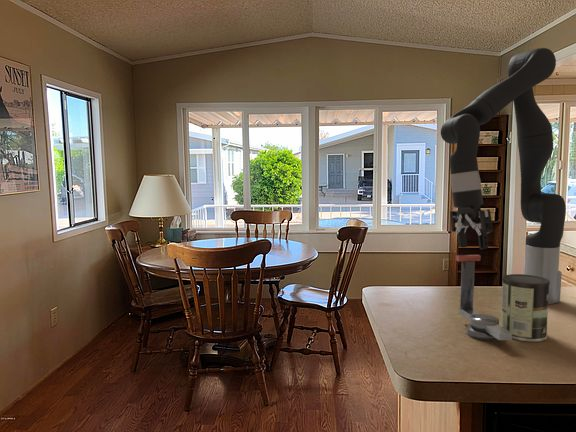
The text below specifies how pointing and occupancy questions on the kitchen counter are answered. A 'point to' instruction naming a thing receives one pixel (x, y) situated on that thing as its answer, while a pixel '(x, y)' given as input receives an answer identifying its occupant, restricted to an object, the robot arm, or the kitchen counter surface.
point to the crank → (466, 302)
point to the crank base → (480, 334)
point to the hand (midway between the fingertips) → (473, 247)
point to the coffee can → (525, 306)
